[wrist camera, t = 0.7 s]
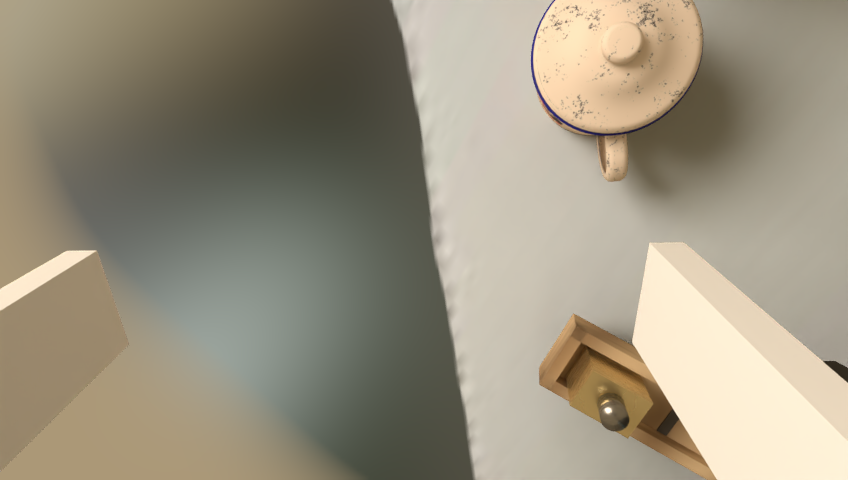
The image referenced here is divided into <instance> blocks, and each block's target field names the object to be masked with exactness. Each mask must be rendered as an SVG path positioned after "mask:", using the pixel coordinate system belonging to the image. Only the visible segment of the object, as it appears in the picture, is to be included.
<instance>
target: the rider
mask: <svg viewBox="0 0 848 480" xmlns="http://www.w3.org/2000/svg"><path fill="white" fill-rule="evenodd" d="M566 380H567V388H568V396H569V403H570V406H572V407H574V408H575V409H577V410H579V411H581V412H582V413H584V414H586V415H588V416H590V417H591V418H593V419H595V420H597V421H598V422H600V423H602V425H603V426H604V427H605V428H606V429H608V430H611V431H616V432H618V433H619V434H621V435H623V436H625V437H626V438H629V436H630V435H631V434H632V432H633V431H634V430H635V428H636V427H637V425H638V424H639V423H640V421H641V420H642V419H643V417H644V416H645V415H646V413H647V412H648V411H649V409H650V408H651V407H652V405H653V402H652V400H651V398H650V396H649V393H648V391H647V389H646V387H645V385H644V383H643V380H642V378H641V376H640V375H639V374H638V373H636V372H634V371H632V370H630V369H628V368H627V367H625V366H623V365H621V364H619V363H618V362H616V361H614V360H612V359H610V358H608V357H607V356H605V355H603V354H601V353H599V352H598V351H596V350H594V349H592V348H590V347H588V346H587V345H586V346H585V348H584V349H583V351H582V352H581V354H580V355H579V357H578V358H577V360H576V361H575V363H574V364H573V366H572V368H571V369H570V371H569V372H568V374H567V375H566Z"/></svg>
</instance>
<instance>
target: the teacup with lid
mask: <svg viewBox="0 0 848 480" xmlns="http://www.w3.org/2000/svg"><path fill="white" fill-rule="evenodd" d="M702 51H703V29H702V24H701V19H700V16H699V13H698V10H697V8H696V6H695V4H694V2H693V0H554V1H553V2H552V3H551V4H550V6H549V7H548V9H547V10H546V12H545V13H544V15H543V17H542V19H541V21H540V23H539V25H538V27H537V30H536V33H535V36H534V40H533V44H532V51H531V70H532V77H533V81H534V84H535V87H536V90H537V95H538V98H539V101H540V103H541V105H542V107H543V109H544V110H545V112H546V113H547V114H548V116H549V117H550V118H551V119H552V120H553V121H554V122H555V123H557V124H558V125H559V126H561V127H563V128H564V129H566V130H569V131H571V132H574V133H577V134H583V135H596V139H597V149H598V157H599V163H600V167H601V171H602V174H603V176H604V178H605V179H606V180H607V181H610V182H613V181H620V180H622V179H624V177H625V176H626V173H627V168H628V147H627V133H631V132H634V131H637V130H640V129H642V128H645V127H647V126H649V125H651V124H653V123H654V122H656V121H658V120H659V119H661V118H662V117H663V116H665V115H666V114H667V113H668V112H670V111H671V110H672V109H673V108H674V107H675V106H676V105H677V104H678V103H679V102H680V100H681V99H682V98H683V97H684V95H685V94H686V92H687V91H688V89H689V88H690V86H691V84H692V82H693V81H694V79H695V76H696V74H697V71H698V69H699V65H700V62H701V57H702Z"/></svg>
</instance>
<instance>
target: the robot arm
mask: <svg viewBox="0 0 848 480" xmlns="http://www.w3.org/2000/svg"><path fill="white" fill-rule="evenodd" d="M632 343H633V345H634V346H635V348H636V349H637V351H638V353H639V354H640V356H641V358H642V359H643V361H644V362H645V364H646V366H647V367H648V369H649V370H650V372H651V374H652V375H653V377H654V379H655V380H656V382H657V383H658V385H659V387H660V388H661V390H662V392H663V393H664V395H665V396H666V398H667V400H668V401H669V403H670V404H671V406H672V408H673V409H674V411H675V413H676V414H677V416H678V417H679V419H680V421H681V422H682V424H683V426H684V427H685V429H686V430H687V432H688V434H689V435H690V437H691V438H692V440H693V442H694V443H695V445H696V447H697V448H698V450H699V451H700V453H701V455H702V456H703V458H704V459H705V461H706V463H707V464H708V466H709V468H710V469H711V471H712V472H713V474H714V476H715V477H716V479H717V480H848V368H847V367H845V366H843V365H841V364H839V363H838V362H836V361H822V360H820V359H819V358H818V357H817V356H816V355H815V354H813V353H812V352H811V351H810V350H809V349H808V348H806V347H805V346H804V345H803V344H802V343H801V342H799V341H798V340H797V339H796V338H795V337H794V336H792V335H791V334H790V333H789V332H788V331H787V330H785V329H784V328H783V327H782V326H781V325H780V324H778V323H777V322H776V321H775V320H774V319H773V318H771V317H770V316H769V315H768V314H767V313H766V312H764V311H763V310H762V309H761V308H760V307H759V306H757V305H756V304H755V303H754V302H753V301H752V300H751V299H749V298H748V297H747V296H746V295H745V294H744V293H742V292H741V291H740V290H739V289H738V288H737V287H735V286H734V285H733V284H732V283H731V282H730V281H728V280H727V279H726V278H725V277H724V276H723V275H721V274H720V273H719V272H718V271H717V270H716V269H714V268H713V267H712V266H711V265H710V264H709V263H707V262H706V261H705V260H704V259H703V258H702V257H700V256H699V255H698V254H697V253H696V252H695V251H693V250H692V249H691V248H690V247H689V246H688V245H686V244H685V243H684V242H672V243H650V244H649V249H648V255H647V261H646V266H645V272H644V278H643V283H642V289H641V295H640V300H639V306H638V312H637V317H636V323H635V329H634V334H633V340H632ZM128 345H129V342H128V339H127V336H126V334H125V331H124V328H123V325H122V322H121V319H120V316H119V313H118V310H117V307H116V305H115V302H114V299H113V296H112V293H111V290H110V287H109V284H108V281H107V278H106V276H105V272H104V270H103V267H102V264H101V261H100V258H99V255H98V252H97V251H66V252H64V253H62V254H60V255H59V256H57V257H55V258H54V259H52V260H50V261H48V262H46V263H45V264H43V265H41V266H39V267H38V268H36V269H34V270H33V271H31V272H29V273H27V274H26V275H24V276H22V277H20V278H19V279H17V280H15V281H13V282H12V283H10V284H8V285H6V286H5V287H3V288H1V289H0V472H1V471H2V470H3V469H4V468H5V467H6V466H7V465H8V464H9V463H10V461H12V460H13V459H14V458H15V457H16V456H17V455H18V454H19V453H20V452H21V451H22V450H23V449H24V448H25V447H26V446H27V445H28V444H29V443H30V442H31V441H32V440H33V439H34V438H35V437H36V436H37V435H38V434H39V433H40V432H41V431H42V430H43V429H44V428H45V427H46V426H47V425H48V424H49V423H50V422H51V421H52V420H53V419H54V418H55V417H56V416H57V415H58V414H59V413H60V412H61V411H62V410H63V409H64V408H65V407H66V406H68V405H69V403H71V402H72V401H73V400H74V399H75V398H76V397H77V396H78V395H79V393H80V392H81V391H83V390H84V389H85V387H87V386H88V385H89V384H90V383H91V382H92V381H93V380H94V379H95V378H96V377H97V376H98V375H99V374H100V373H101V372H102V371H103V370H104V369H105V368H106V367H107V366H108V365H109V364H110V363H111V362H112V361H113V360H114V359H115V358H116V357H117V356H118V355H119V354H120V353H121V352H122V351H123V350H124V349H125V348H126V347H127V346H128Z"/></svg>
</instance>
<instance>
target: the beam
mask: <svg viewBox="0 0 848 480" xmlns="http://www.w3.org/2000/svg"><path fill="white" fill-rule="evenodd" d="M586 345H587V346H588V347H590V348H592V349H594V350H596V351H598V352H599V353H601V354H603V355H605V356H607V357H608V358H610V359H612V360H614V361H616V362H618V363H619V364H621V365H623V366H625V367H627V368H628V369H630V370H632V371H634V372H636V373H638V374H639V375H640V376H641V378H642V380H643V383H644V385H645V387H646V389H647V391H648V393H649V396H650V398H651V400H652V402H653V405H652V407H651V408H650V409H649V411H648V412H647V413H646V415H645V416H644V417H643V419H642V420H641V421H640V423H639V424H638V425H637V427H636V428H635V430H634V431H633V432H632V434H631V435H630V436H631V437H633V438H635V439H636V440H638V441H640V442H642V443H643V444H645V445H647V446H649V447H651V448H652V449H654V450H656V451H658V452H659V453H661V454H663V455H665V456H666V457H668V458H670V459H672V460H673V461H675V462H677V463H679V464H681V465H682V466H684V467H686V468H688V469H689V470H691V471H693V472H695V473H696V474H698V475H700V476H702V477H703V478H705V479H707V480H717V479H716V477H715V476H714V474H713V472H712V471H711V469H710V468H709V466H708V464H707V463H706V461H705V459H704V458H703V456H702V455H701V453H700V451H699V450H698V448H697V447H696V445H695V443H694V442H693V440H692V438H691V437H690V435H689V434H688V432H687V430H686V429H685V427H684V426H683V424H682V422H681V421H680V419H679V417H678V416H677V414H676V413H675V411H674V409H673V408H672V406H671V404H670V403H669V401H668V400H667V398H666V396H665V395H664V393H663V392H662V390H661V388H660V387H659V385H658V383H657V382H656V380H655V379H654V377H653V375H652V374H651V372H650V370H649V369H648V367H647V366H646V364H645V362H644V361H643V359H642V358H641V356H640V354H639V353H638V351H637V349H636V348H635V347H634V346H632V345H631V344H629V343H627V342H625V341H623V340H621V339H619V338H618V337H616V336H614V335H612V334H610V333H608V332H607V331H605V330H603V329H601V328H599V327H597V326H596V325H594V324H592V323H590V322H588V321H586V320H584V319H583V318H581V317H579V316H577V315H575V314H573V315H572V317H571V318H570V320H569V321H568V323H567V325H566V326H565V328H564V329H563V331H562V332H561V334H560V336H559V337H558V339H557V340H556V342H555V343H554V345H553V347H552V348H551V350H550V351H549V353H548V354H547V356H546V358H545V359H544V361H543V362H542V364H541V365H540V367H539V384H540V385H541V386H543V387H545V388H546V389H548V390H550V391H552V392H554V393H555V394H557V395H559V396H561V397H562V398H564V399H566V400H568V401H569V396H568V388H567V380H566V375H567V374H568V372H569V371H570V369H571V368H572V366H573V364H574V363H575V361H576V360H577V358H578V357H579V355H580V354H581V352H582V351H583V349H584V348H585V346H586Z"/></svg>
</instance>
